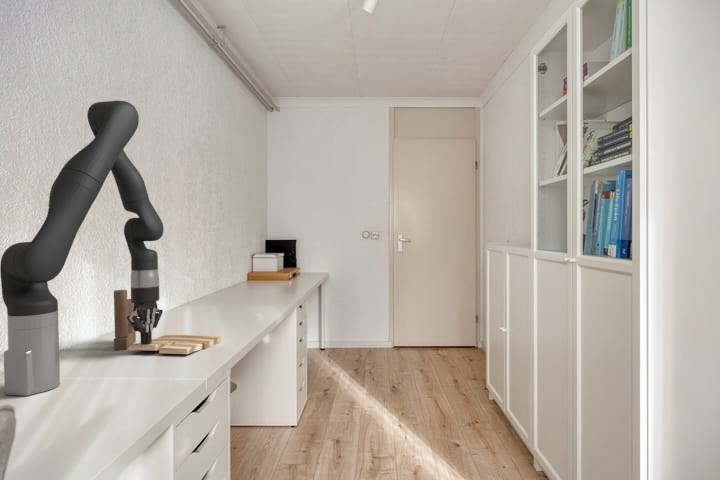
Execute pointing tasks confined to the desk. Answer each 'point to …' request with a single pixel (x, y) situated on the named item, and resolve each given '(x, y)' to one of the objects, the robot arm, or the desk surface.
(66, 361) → the desk surface
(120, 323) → the wooden block
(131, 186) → the robot arm
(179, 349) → the plank
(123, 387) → the desk surface
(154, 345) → the plank
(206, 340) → the laid floor
